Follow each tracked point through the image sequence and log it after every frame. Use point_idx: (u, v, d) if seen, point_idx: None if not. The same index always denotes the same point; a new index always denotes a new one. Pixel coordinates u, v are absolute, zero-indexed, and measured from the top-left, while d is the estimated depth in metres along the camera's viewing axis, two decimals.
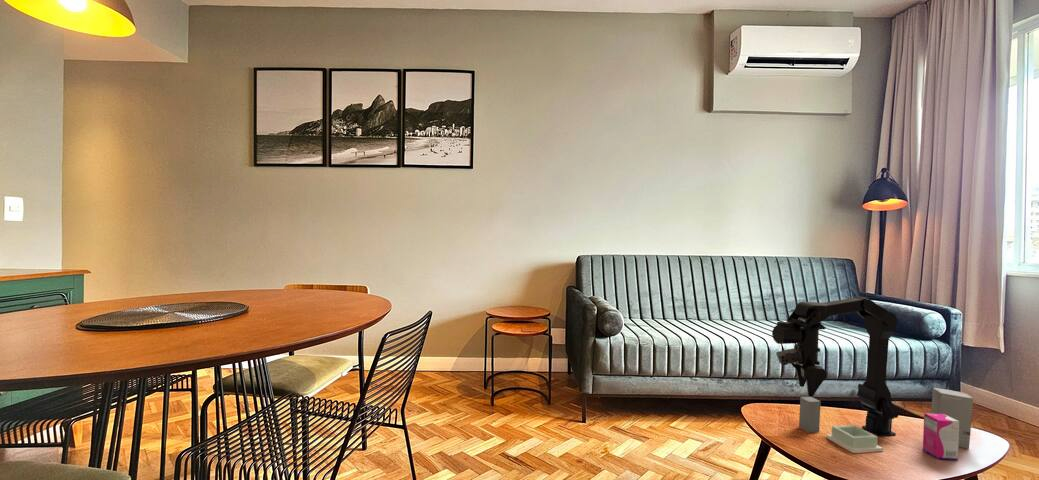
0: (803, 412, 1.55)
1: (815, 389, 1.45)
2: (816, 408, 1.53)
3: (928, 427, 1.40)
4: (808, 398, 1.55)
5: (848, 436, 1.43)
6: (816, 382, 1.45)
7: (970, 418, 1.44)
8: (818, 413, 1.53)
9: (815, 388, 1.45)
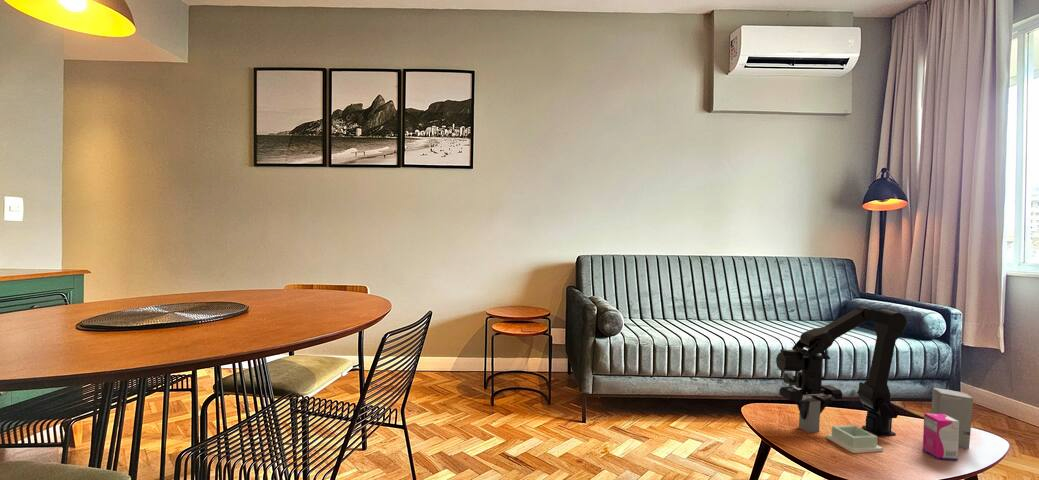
0: None
1: (803, 412, 1.53)
2: (816, 408, 1.53)
3: (928, 427, 1.40)
4: (808, 398, 1.55)
5: (848, 436, 1.43)
6: (802, 405, 1.53)
7: (970, 418, 1.44)
8: (818, 413, 1.53)
9: (803, 411, 1.53)
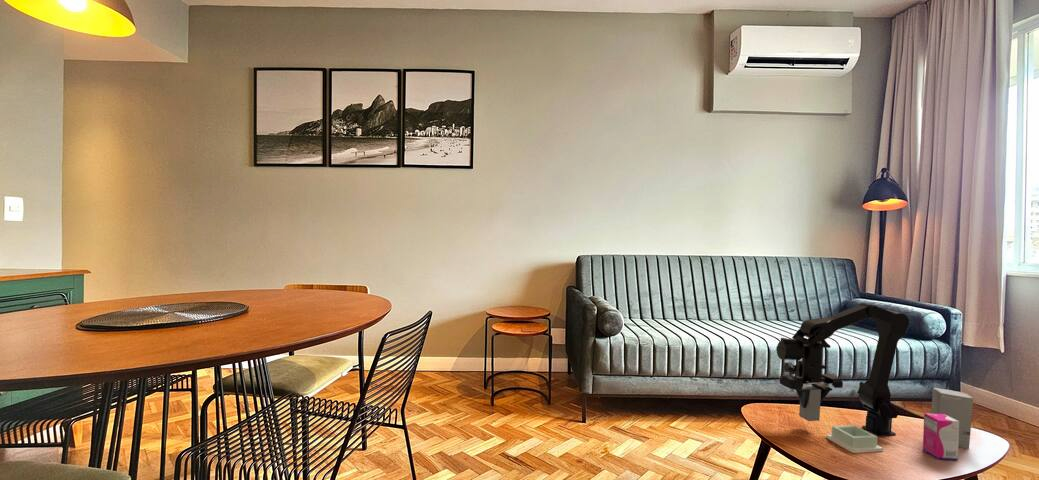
0: None
1: (803, 400, 1.53)
2: (816, 397, 1.53)
3: (928, 427, 1.40)
4: (809, 387, 1.55)
5: (848, 436, 1.43)
6: (803, 393, 1.53)
7: (970, 418, 1.44)
8: (818, 402, 1.53)
9: (803, 399, 1.53)
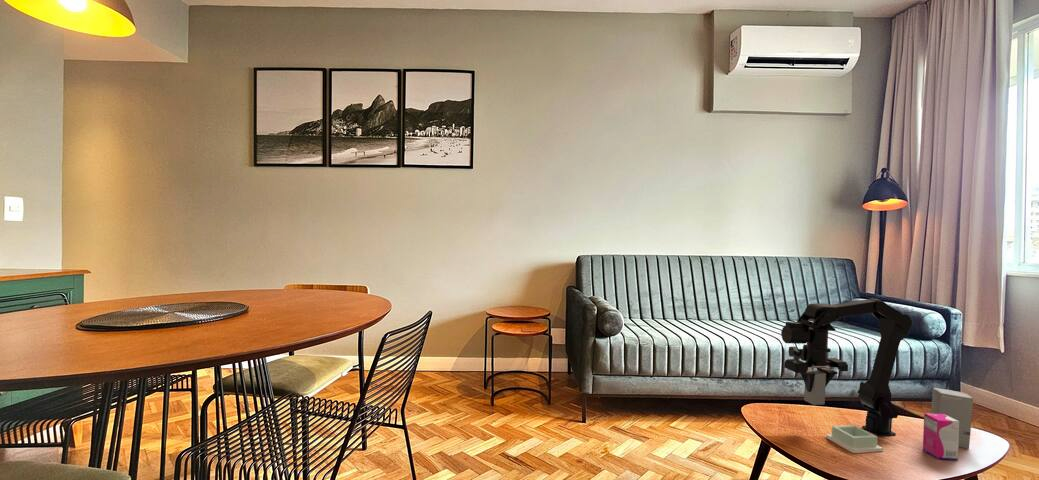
0: None
1: (808, 384, 1.52)
2: (821, 380, 1.52)
3: (928, 427, 1.40)
4: (814, 371, 1.54)
5: (848, 436, 1.43)
6: (808, 377, 1.52)
7: (970, 418, 1.44)
8: (823, 385, 1.52)
9: (808, 383, 1.52)
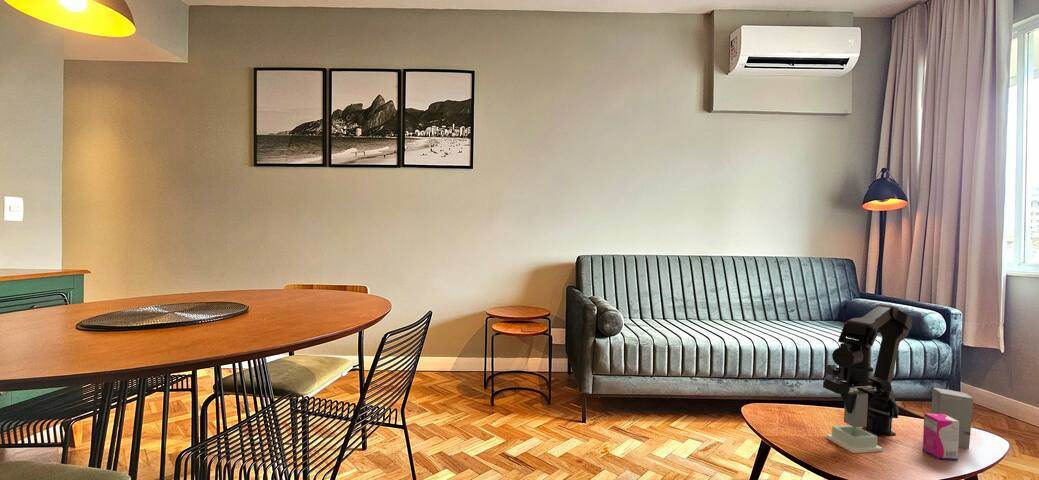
0: None
1: (849, 405, 1.43)
2: (863, 401, 1.43)
3: (928, 427, 1.40)
4: (854, 391, 1.45)
5: (848, 436, 1.43)
6: (849, 398, 1.43)
7: (970, 418, 1.44)
8: (865, 407, 1.43)
9: (849, 404, 1.43)
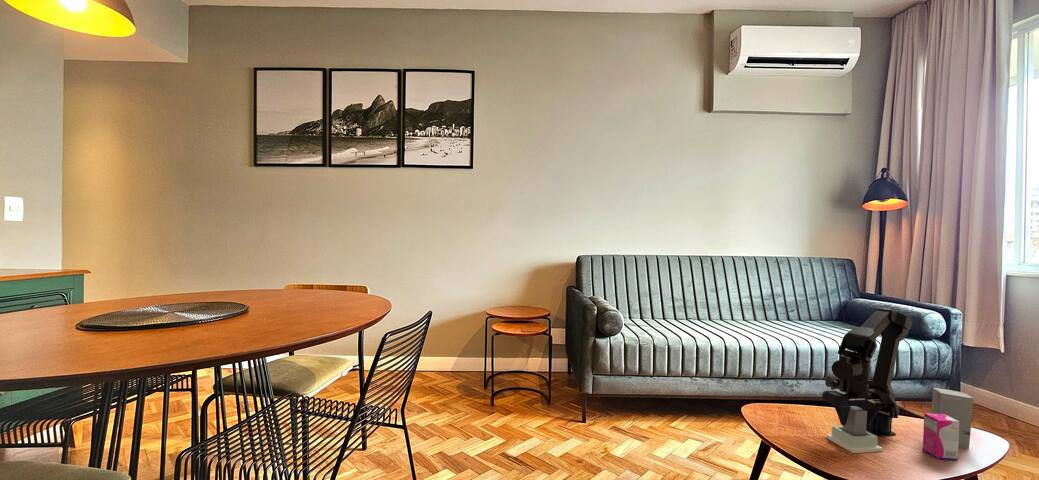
0: (848, 422, 1.45)
1: (843, 418, 1.43)
2: (862, 418, 1.43)
3: (928, 427, 1.40)
4: (853, 408, 1.45)
5: (848, 436, 1.43)
6: (842, 410, 1.43)
7: (970, 418, 1.44)
8: (864, 424, 1.43)
9: (842, 417, 1.43)
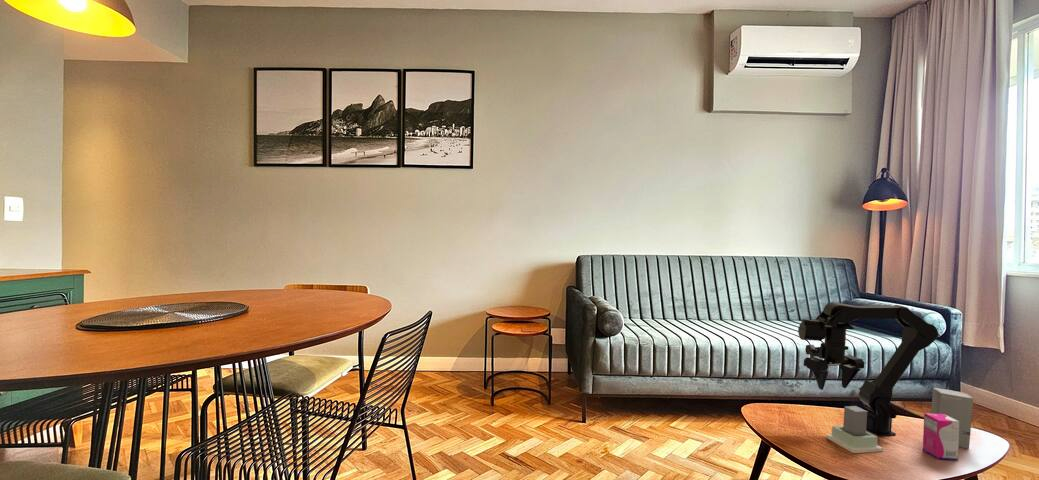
0: (848, 422, 1.45)
1: (821, 382, 1.54)
2: (862, 418, 1.43)
3: (928, 427, 1.40)
4: (853, 408, 1.45)
5: (848, 436, 1.43)
6: (820, 375, 1.54)
7: (970, 418, 1.44)
8: (864, 424, 1.43)
9: (821, 381, 1.54)
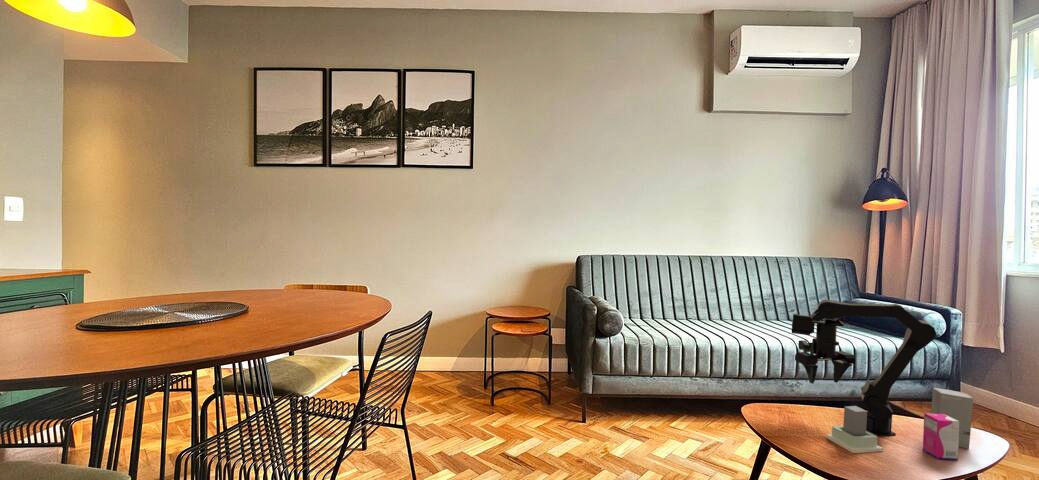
0: (848, 422, 1.45)
1: (811, 376, 1.60)
2: (862, 418, 1.43)
3: (928, 427, 1.40)
4: (853, 408, 1.45)
5: (848, 436, 1.43)
6: (811, 369, 1.60)
7: (970, 418, 1.44)
8: (864, 424, 1.43)
9: (811, 375, 1.60)
